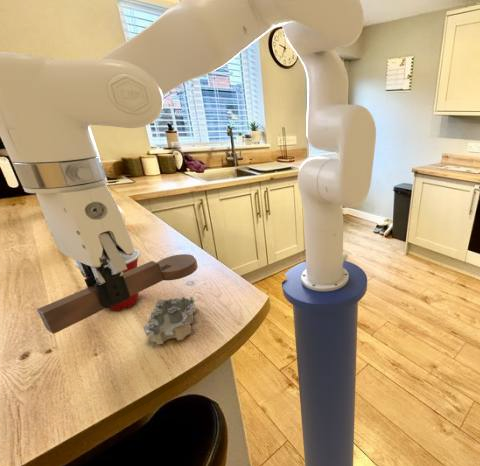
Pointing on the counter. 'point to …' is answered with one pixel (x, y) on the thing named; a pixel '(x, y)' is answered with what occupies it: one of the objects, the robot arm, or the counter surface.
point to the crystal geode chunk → (170, 320)
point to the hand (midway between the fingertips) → (112, 299)
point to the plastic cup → (131, 264)
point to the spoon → (136, 280)
